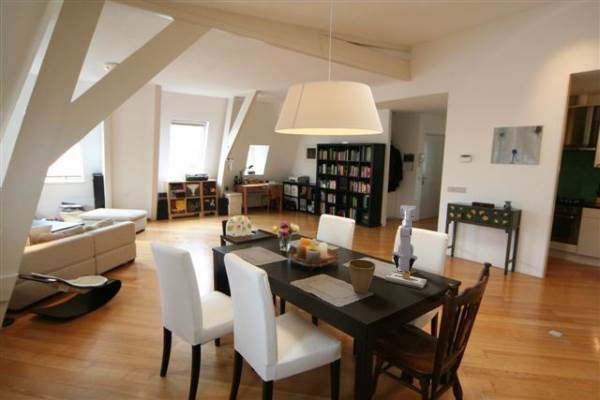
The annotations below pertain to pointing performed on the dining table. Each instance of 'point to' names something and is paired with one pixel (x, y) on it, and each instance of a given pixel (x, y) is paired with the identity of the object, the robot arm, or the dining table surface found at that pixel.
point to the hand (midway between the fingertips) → (403, 269)
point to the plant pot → (361, 274)
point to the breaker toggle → (406, 274)
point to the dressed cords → (404, 283)
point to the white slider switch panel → (411, 280)
